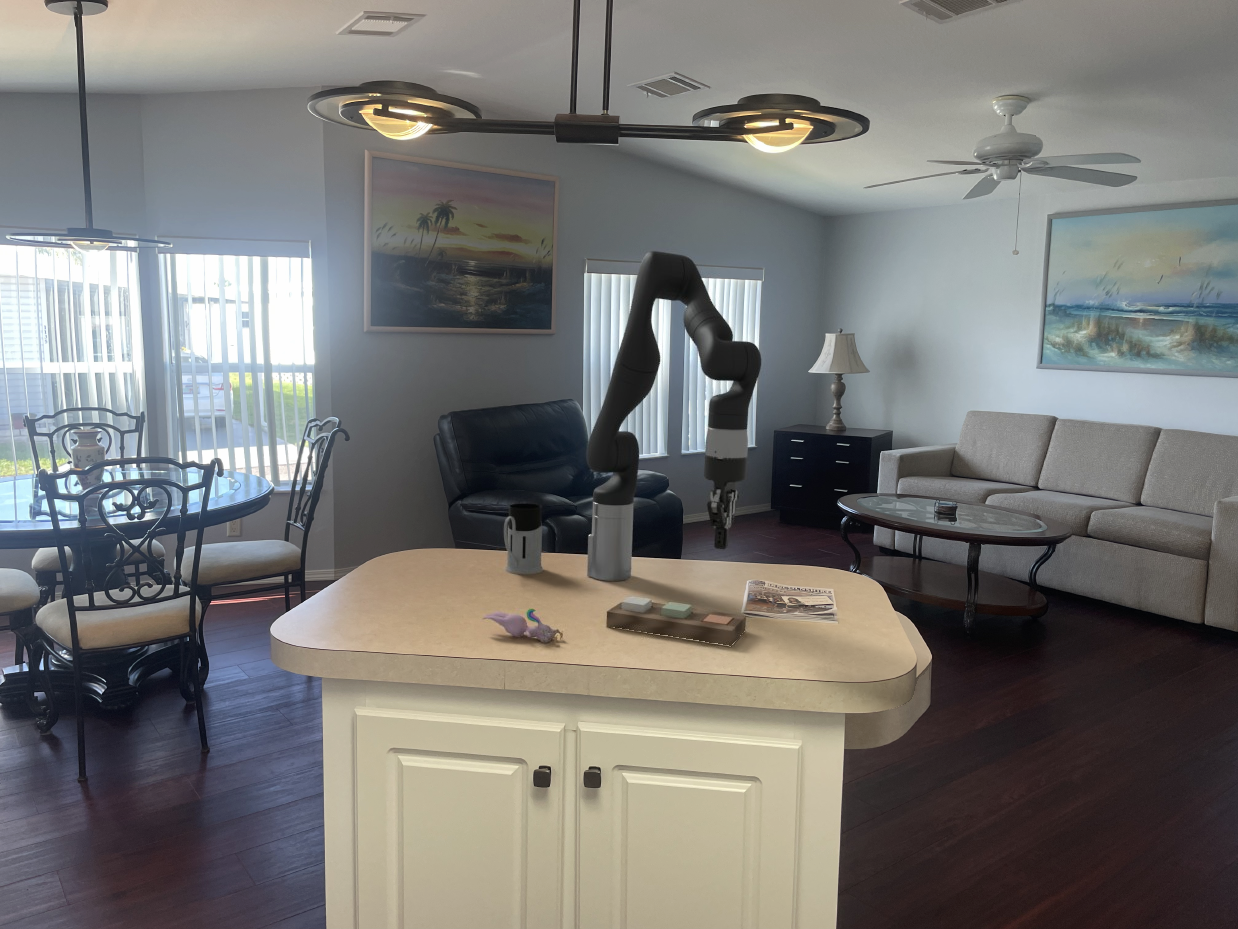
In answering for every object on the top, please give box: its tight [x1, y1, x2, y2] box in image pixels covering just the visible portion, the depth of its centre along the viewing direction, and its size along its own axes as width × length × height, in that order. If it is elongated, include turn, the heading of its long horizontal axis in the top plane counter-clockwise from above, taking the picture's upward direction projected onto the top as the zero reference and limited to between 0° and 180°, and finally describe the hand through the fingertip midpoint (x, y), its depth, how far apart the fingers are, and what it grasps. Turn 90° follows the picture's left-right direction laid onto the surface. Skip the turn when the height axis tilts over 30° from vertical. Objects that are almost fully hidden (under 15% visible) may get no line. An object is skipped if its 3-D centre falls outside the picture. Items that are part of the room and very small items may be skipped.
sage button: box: [661, 601, 693, 619], centre depth 167 cm, size 4×4×3 cm
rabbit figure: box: [482, 608, 564, 645], centre depth 160 cm, size 6×6×15 cm
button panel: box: [605, 601, 747, 647], centre depth 168 cm, size 24×10×3 cm, turn 68°
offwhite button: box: [621, 595, 653, 613], centre depth 170 cm, size 4×4×3 cm
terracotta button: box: [703, 614, 733, 625], centre depth 164 cm, size 4×4×3 cm
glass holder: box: [503, 502, 544, 575], centre depth 205 cm, size 9×14×15 cm, turn 159°
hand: (721, 548), depth 163 cm, fingers closed
